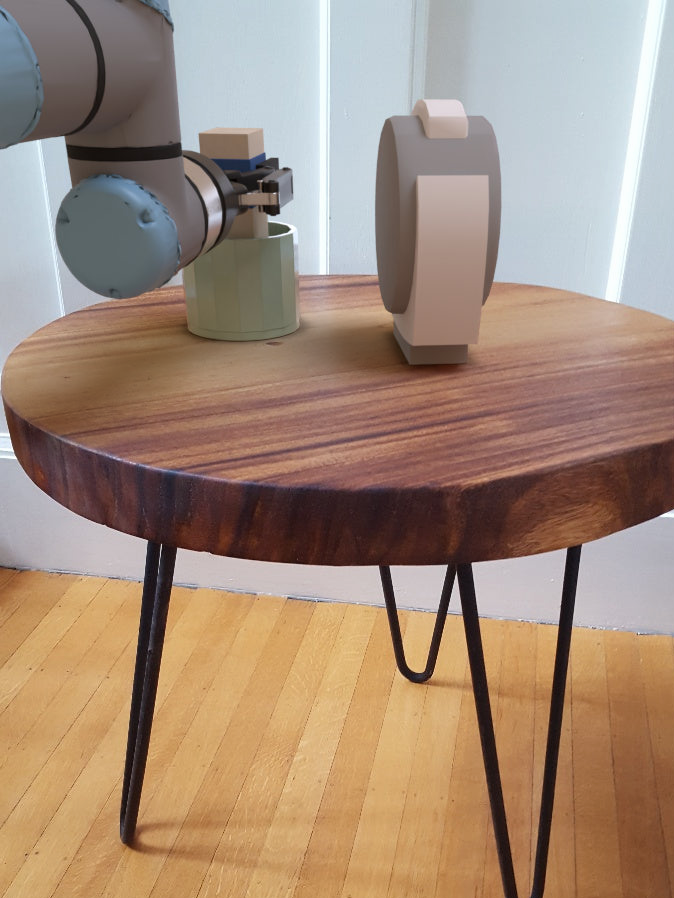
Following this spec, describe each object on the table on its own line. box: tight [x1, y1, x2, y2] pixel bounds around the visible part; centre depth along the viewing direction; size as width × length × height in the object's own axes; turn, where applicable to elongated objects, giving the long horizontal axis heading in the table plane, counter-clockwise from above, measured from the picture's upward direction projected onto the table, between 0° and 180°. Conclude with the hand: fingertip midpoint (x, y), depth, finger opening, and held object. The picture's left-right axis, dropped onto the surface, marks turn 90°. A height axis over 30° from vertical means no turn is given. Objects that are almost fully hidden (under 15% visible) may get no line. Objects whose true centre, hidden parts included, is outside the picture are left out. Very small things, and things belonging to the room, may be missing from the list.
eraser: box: [198, 127, 269, 239], centre depth 89 cm, size 5×6×10 cm
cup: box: [180, 220, 301, 342], centre depth 94 cm, size 11×11×9 cm
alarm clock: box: [374, 98, 502, 366], centre depth 85 cm, size 18×8×20 cm, turn 7°
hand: (248, 172), depth 93 cm, fingers closed on eraser, 5 cm apart
